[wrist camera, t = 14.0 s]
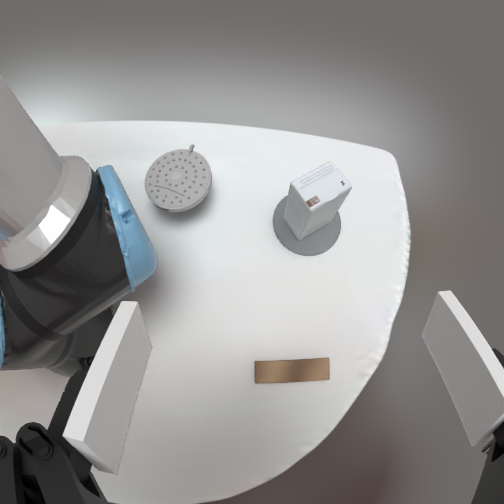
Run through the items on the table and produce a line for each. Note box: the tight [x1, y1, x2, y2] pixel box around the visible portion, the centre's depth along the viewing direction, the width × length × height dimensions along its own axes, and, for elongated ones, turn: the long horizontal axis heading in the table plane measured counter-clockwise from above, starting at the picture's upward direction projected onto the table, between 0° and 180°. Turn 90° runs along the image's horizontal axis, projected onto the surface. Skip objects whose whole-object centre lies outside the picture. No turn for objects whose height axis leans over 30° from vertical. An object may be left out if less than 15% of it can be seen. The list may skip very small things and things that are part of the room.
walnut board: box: [255, 358, 330, 383], centre depth 39 cm, size 10×3×1 cm, turn 91°
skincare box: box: [283, 161, 352, 241], centre depth 39 cm, size 6×4×12 cm
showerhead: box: [145, 145, 212, 212], centre depth 43 cm, size 9×7×10 cm
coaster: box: [273, 195, 341, 256], centre depth 45 cm, size 10×10×1 cm
